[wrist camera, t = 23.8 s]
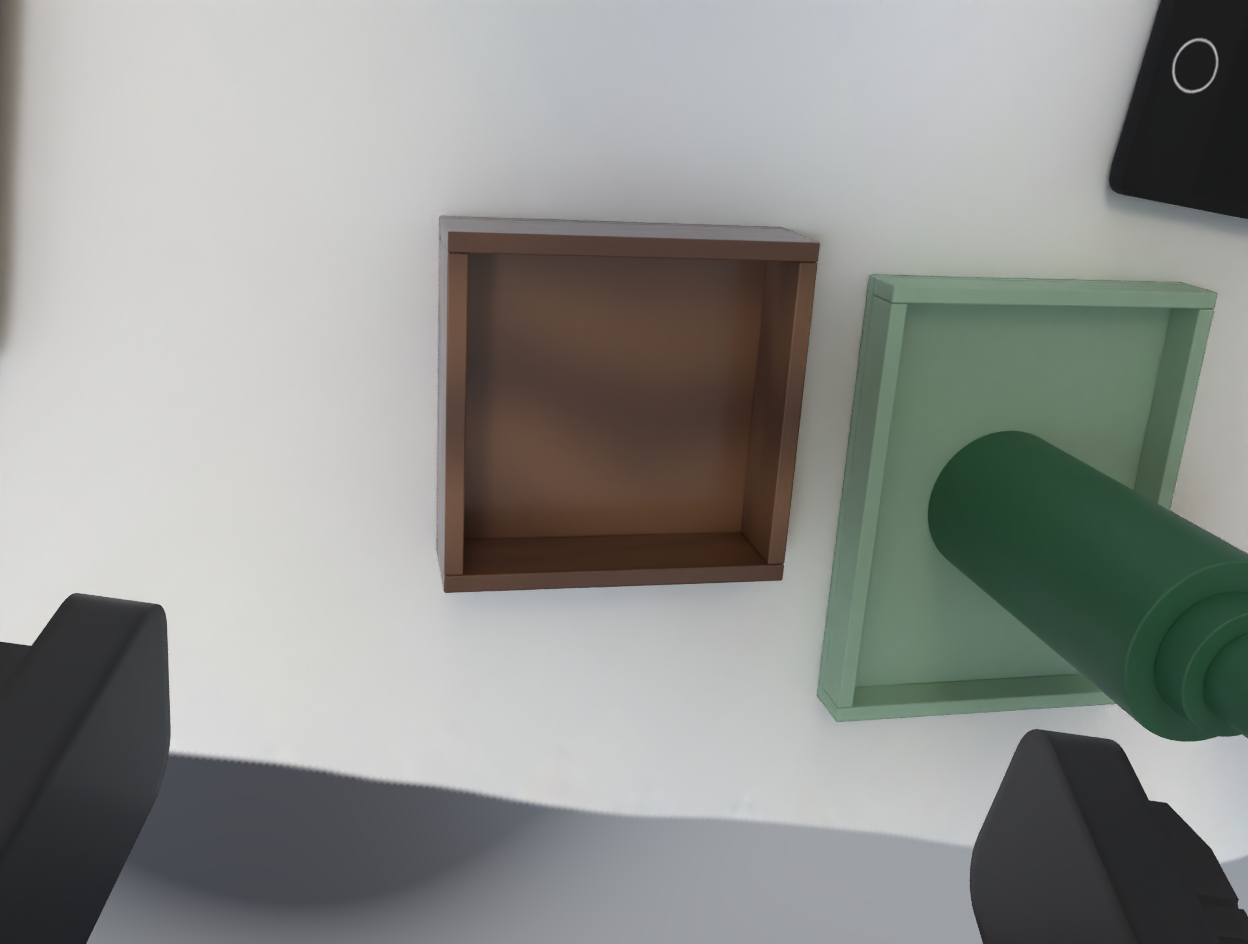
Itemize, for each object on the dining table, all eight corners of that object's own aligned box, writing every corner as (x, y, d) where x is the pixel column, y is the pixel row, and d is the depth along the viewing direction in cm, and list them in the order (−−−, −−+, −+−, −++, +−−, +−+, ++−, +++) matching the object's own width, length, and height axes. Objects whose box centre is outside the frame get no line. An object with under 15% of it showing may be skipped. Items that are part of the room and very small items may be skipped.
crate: (438, 215, 37) (447, 231, 33) (781, 226, 39) (820, 242, 36) (436, 550, 40) (443, 593, 37) (750, 541, 43) (782, 581, 39)
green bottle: (939, 429, 42) (1273, 643, 27) (1078, 429, 44) (1473, 634, 28) (916, 574, 44) (1217, 850, 29) (1051, 570, 45) (1408, 833, 30)
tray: (869, 274, 40) (893, 285, 38) (1181, 282, 43) (1218, 292, 41) (816, 695, 46) (836, 722, 44) (1097, 678, 48) (1127, 703, 46)
